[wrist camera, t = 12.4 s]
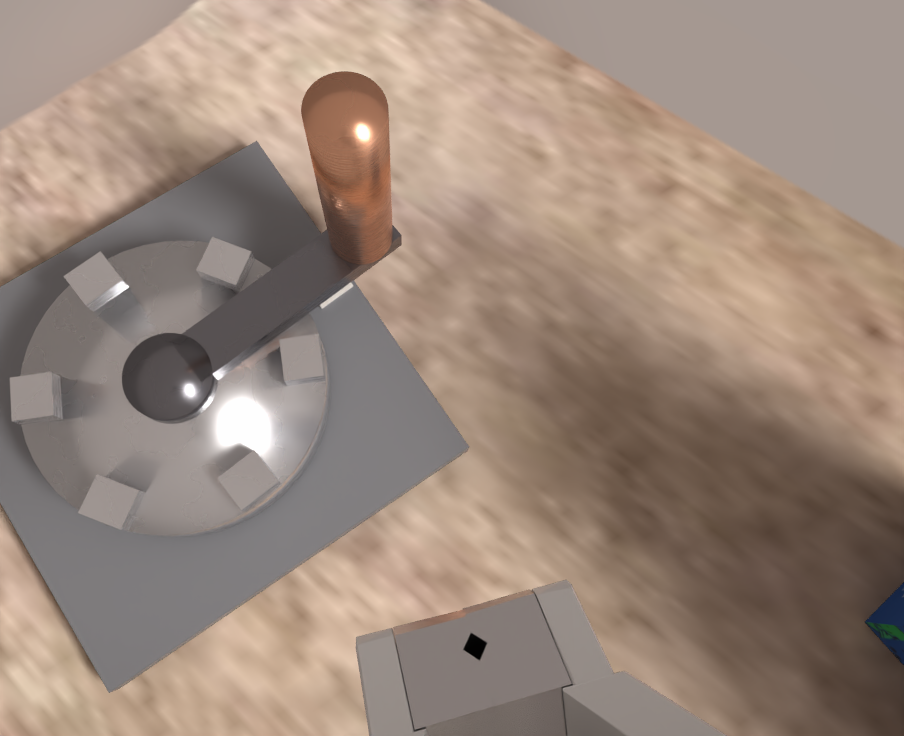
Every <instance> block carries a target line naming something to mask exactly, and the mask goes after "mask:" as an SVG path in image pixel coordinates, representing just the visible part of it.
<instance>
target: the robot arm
mask: <svg viewBox="0 0 904 736" xmlns="http://www.w3.org/2000/svg"><path fill="white" fill-rule="evenodd" d="M393 629H394V631H393ZM356 652H357V659H358V665H359V671H360V678H361V684H362V691H363V697H364V704H365V710H366V717H367V723H368V729H369V736H727V735H725V734H724V733H722V732H720V731H719V730H717V729H716V728H714V727H712V726H711V725H709V724H708V723H706V722H705V721H703V720H701V719H700V718H698V717H697V716H695V715H694V714H692V713H690V712H689V711H687V710H686V709H684V708H683V707H681V706H679V705H678V704H676V703H675V702H673V701H672V700H670V699H668V698H667V697H665V696H664V695H662V694H661V693H659V692H657V691H656V690H654V689H653V688H651V687H649V686H648V685H646V684H645V683H643V682H642V681H640V680H638V679H637V678H635V677H634V676H632V675H631V674H629V673H627V672H626V671H621V672H617V673H614V672H613V670H612V668H611V666H610V664H609V662H608V660H607V658H606V655H605V653H604V651H603V649H602V647H601V645H600V643H599V641H598V639H597V637H596V635H595V633H594V630H593V628H592V626H591V624H590V622H589V620H588V618H587V616H586V614H585V612H584V610H583V608H582V605H581V603H580V601H579V599H578V597H577V595H576V593H575V591H574V589H573V587H572V585H571V584H570V583H569V582H568V581H567V580H563V581H560V582H556V583H552V584H549V585H545V586H542V587H538V588H534V589H532V591H531V590H530V589H529V590H526V591H522V592H519V593H515V594H512V595H508V596H505V597H501V598H498V599H495V600H491V601H488V602H484V603H481V604H477V605H474V606H470V607H467V608H463V610H460V611H456V612H452V613H448V614H444V615H440V616H436V617H432V618H428V619H424V620H420V621H416V622H412V623H408V624H404V625H400V626H396V627H393V628H390V629H386V630H382V631H378V632H374V633H370V634H366V635H362V636H359V637H356Z"/></svg>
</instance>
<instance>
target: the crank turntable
mask: <svg viewBox="0 0 904 736" xmlns="http://www.w3.org/2000/svg"><path fill="white" fill-rule="evenodd" d="M301 112H302V119H303V123H304V128H305V132H306V137H307V141H308V146H309V150H310V155H311V159H312V164H313V168H314V172H315V177H316V181H317V186H318V190H319V195H320V199H321V204H322V208H323V213H324V217H325V222H326V226H327V230H326V231H325V232H323V233H322V234H320V235H319V236H318V237H316V238H315V239H313V240H312V241H311V242H309V243H308V244H306V245H305V246H304V247H302V248H301V249H299V250H298V251H297V252H295V253H294V254H292V255H291V256H290V257H288V258H287V259H285V260H284V261H283V262H281V263H280V264H278V265H277V266H276V267H274V268H273V269H271V268H269V267H268V266H266V265H264V264H263V263H261V262H260V261H258V260H256V259H255V258H254V256H253V254H252V252H251V251H249V250H246V249H243V248H241V247H238V246H235V245H233V244H230V243H228V242H225V241H222V240H220V239H217V238H214V237H212V238H211V240H210V242H209V243H206V242H200V241H167V242H158V243H153V244H148V245H143V246H139V247H136V248H133V249H130V250H127V251H124V252H121V253H119V254H117V255H115V256H112V257H110V258H108V259H107V258H106V257H105V256H104V255H103V254H102V252H101V251H100V252H98V253H97V254H96V255H94V256H93V257H91V258H90V259H88V260H87V261H85V262H84V263H82V264H81V265H79V266H78V267H76V268H75V269H73V270H72V271H70V272H69V273H68V274H66V275H65V276H64V278H65V279H66V280H67V282H68V283H69V284H70V285H69V286H68V287H67V288H66V289H65V290H64V291H63V292H62V293H61V294H60V295H59V296H58V297H57V299H56V300H55V301H54V302H53V304H52V305H51V306H50V307H49V309H48V310H47V311H46V313H45V314H44V316H43V318H42V319H41V321H40V322H39V324H38V326H37V327H36V329H35V331H34V334H33V336H32V338H31V340H30V343H29V345H28V347H27V351H26V354H25V357H24V361H23V364H22V369H21V375H20V376H18V377H11V378H10V395H11V418H12V422H15V423H18V424H20V425H21V426H22V430H23V434H24V437H25V441H26V444H27V446H28V449H29V451H30V453H31V456H32V458H33V460H34V462H35V463H36V465H37V467H38V468H39V470H40V472H41V473H42V475H43V476H44V478H45V479H46V480H47V481H48V483H49V484H50V485H51V486H52V487H53V488H54V490H55V491H56V492H57V493H58V494H59V495H60V496H62V497H63V498H64V499H65V500H66V501H67V502H68V503H69V504H71V505H72V506H73V507H75V508H76V509H78V510H79V512H78V513H79V514H82V515H84V516H87V517H89V518H92V519H94V520H97V521H99V522H101V523H103V524H106V525H108V526H112V527H115V528H118V529H120V530H124V531H129V532H135V533H141V534H147V535H154V536H161V537H191V536H201V535H206V534H210V533H214V532H219V531H222V530H225V529H228V528H230V527H233V526H236V525H239V524H241V523H243V522H245V521H247V520H249V519H250V518H252V517H254V516H256V515H258V514H259V513H261V512H262V511H264V510H265V509H267V508H268V507H270V506H271V505H272V504H274V503H275V502H276V501H277V500H278V499H279V498H281V497H282V496H283V495H284V494H285V493H286V492H287V491H288V490H289V489H290V488H291V487H292V486H293V485H294V483H295V482H296V481H297V480H298V479H299V478H300V477H301V475H302V474H303V472H304V471H305V469H306V468H307V466H308V465H309V463H310V462H311V460H312V458H313V456H314V454H315V452H316V450H317V448H318V446H319V444H320V442H321V439H322V436H323V433H324V430H325V427H326V423H327V418H328V414H329V409H330V396H331V383H330V371H329V366H328V361H327V356H326V353H325V350H324V347H323V344H322V341H321V339H320V336H319V333H318V330H317V327H316V325H315V322H314V321H313V319H312V317H311V315H310V312H311V311H313V310H314V309H315V308H317V307H318V306H319V305H321V304H322V303H323V302H325V301H326V300H327V299H329V298H330V297H332V296H333V295H334V294H336V293H337V292H338V291H340V290H341V289H342V288H344V287H345V286H346V285H348V284H349V283H351V282H352V281H353V280H355V279H356V278H357V277H359V276H360V275H361V274H363V273H364V272H365V271H367V270H368V269H370V268H371V267H372V266H374V265H375V264H376V263H378V262H379V261H380V260H382V259H383V258H384V257H386V256H387V255H389V254H390V253H391V252H393V251H394V250H395V249H397V248H398V247H399V246H401V234H400V233H399V232H398V231H397V230H396V228H395V227H394V226H393V225H392V204H391V174H390V144H389V115H388V103H387V99H386V97H385V95H384V93H383V91H382V90H381V88H380V87H379V86H378V85H377V84H376V83H375V82H374V81H372V80H371V79H370V78H368V77H366V76H364V75H361V74H358V73H354V72H335V73H331V74H328V75H326V76H323V77H322V78H320V79H318V80H317V81H316V82H314V83H313V84H312V85H311V86H310V88H309V89H308V90H307V92H306V94H305V96H304V98H303V102H302V108H301Z"/></svg>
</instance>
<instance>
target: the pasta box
mask: <svg viewBox="0 0 904 736" xmlns="http://www.w3.org/2000/svg"><path fill="white" fill-rule="evenodd" d="M865 623H866V624H867V625H868V626H869V627H870V628H871V630H872V631H873V632H874V633H875V634H876V635H877V636H878V637H879V638H880V640H881V641H882V642H883V643H884V644H885V645H886V646H887V647H888V648H889V650H890V651H891V652H892V653H893V654H894V655H895V656H896V657H897V658H898V660H899V661H900V662H901V663H902V664H903V665H904V583H903V584H902V585H901V586H900V587H899V588H898V589H897V590H896V591H895V592H894V593H893V594H892V595H891V596H890V597H889V598H888V599H887V600H886V601H885V602H884V603H883V604H882V605H881V606H880V607H879V608H878V609H877V610H876V611H875V612H874V613H873V614H872V615H871V616H870V617H869V618H868V619H867V620H866V621H865Z"/></svg>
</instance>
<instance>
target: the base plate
mask: <svg viewBox="0 0 904 736" xmlns="http://www.w3.org/2000/svg"><path fill="white" fill-rule="evenodd" d="M320 234H321V233H320V231H319V230H318V228H317V227H316V226H315V224H314V223H313V221H312V220H311V218H310V217H309V215H308V214H307V213H306V211H305V210H304V208H303V207H302V205H301V204H300V203H299V201H298V200H297V198H296V197H295V195H294V194H293V192H292V191H291V190H290V188H289V187H288V185H287V184H286V182H285V181H284V180H283V178H282V177H281V175H280V174H279V172H278V171H277V169H276V168H275V167H274V165H273V164H272V162H271V161H270V159H269V158H268V156H267V155H266V154H265V152H264V151H263V149H262V148H261V146H260V145H259V144H258V142H257V141H256V142H254V143H252V144H251V145H249V146H247V147H245V148H243V149H242V150H240V151H238V152H236V153H235V154H233V155H231V156H229V157H228V158H226V159H224V160H222V161H221V162H219V163H217V164H215V165H214V166H212V167H210V168H208V169H207V170H205V171H203V172H201V173H200V174H198V175H196V176H194V177H192V178H191V179H189V180H187V181H185V182H184V183H182V184H180V185H178V186H177V187H175V188H173V189H171V190H170V191H168V192H166V193H164V194H163V195H161V196H159V197H157V198H156V199H154V200H152V201H150V202H149V203H147V204H145V205H143V206H141V207H140V208H138V209H136V210H134V211H133V212H131V213H129V214H127V215H126V216H124V217H122V218H120V219H119V220H117V221H115V222H113V223H112V224H110V225H108V226H106V227H105V228H103V229H101V230H99V231H98V232H96V233H94V234H92V235H90V236H89V237H87V238H85V239H83V240H82V241H80V242H78V243H76V244H75V245H73V246H71V247H69V248H68V249H66V250H64V251H62V252H61V253H59V254H57V255H55V256H54V257H52V258H50V259H48V260H47V261H45V262H43V263H41V264H40V265H38V266H36V267H34V268H32V269H31V270H29V271H27V272H25V273H24V274H22V275H20V276H18V277H17V278H15V279H13V280H11V281H10V282H8V283H6V284H4V285H3V286H1V287H0V503H1V505H2V507H3V509H4V510H5V512H6V514H7V516H8V517H9V519H10V521H11V523H12V524H13V526H14V528H15V530H16V531H17V533H18V535H19V537H20V538H21V540H22V542H23V544H24V545H25V547H26V549H27V551H28V552H29V554H30V556H31V558H32V559H33V561H34V563H35V565H36V566H37V568H38V570H39V572H40V573H41V575H42V577H43V578H44V580H45V582H46V584H47V585H48V587H49V589H50V591H51V592H52V594H53V596H54V598H55V599H56V601H57V603H58V605H59V606H60V608H61V610H62V612H63V613H64V615H65V617H66V619H67V620H68V622H69V624H70V626H71V627H72V629H73V631H74V633H75V634H76V636H77V638H78V640H79V641H80V643H81V645H82V647H83V648H84V650H85V652H86V654H87V655H88V657H89V659H90V661H91V662H92V664H93V666H94V668H95V669H96V671H97V673H98V675H99V676H100V678H101V680H102V681H103V683H104V685H105V687H106V688H107V690H108V692H109V693H110V692H112V691H115V690H117V689H119V688H121V687H123V686H124V685H125V684H127V683H128V682H130V681H131V680H133V679H134V678H136V677H137V676H139V675H140V674H142V673H143V672H144V671H146V670H147V669H149V668H150V667H152V666H153V665H155V664H156V663H158V662H159V661H161V660H162V659H164V658H165V657H166V656H168V655H169V654H171V653H172V652H174V651H175V650H177V649H178V648H180V647H181V646H183V645H184V644H185V643H187V642H188V641H190V640H191V639H193V638H194V637H196V636H197V635H199V634H200V633H202V632H203V631H204V630H206V629H207V628H209V627H210V626H212V625H213V624H215V623H216V622H218V621H219V620H221V619H222V618H223V617H225V616H226V615H228V614H229V613H231V612H232V611H234V610H235V609H237V608H238V607H240V606H241V605H242V604H244V603H245V602H247V601H248V600H250V599H251V598H253V597H254V596H256V595H257V594H259V593H260V592H261V591H263V590H264V589H266V588H267V587H269V586H270V585H272V584H273V583H275V582H276V581H278V580H279V579H281V578H282V577H283V576H285V575H286V574H288V573H289V572H291V571H292V570H294V569H295V568H297V567H298V566H300V565H301V564H302V563H304V562H305V561H307V560H308V559H310V558H311V557H313V556H314V555H316V554H317V553H319V552H320V551H321V550H323V549H324V548H326V547H327V546H329V545H330V544H332V543H333V542H335V541H336V540H338V539H339V538H340V537H342V536H343V535H345V534H346V533H348V532H349V531H351V530H352V529H354V528H355V527H357V526H358V525H359V524H361V523H362V522H364V521H365V520H367V519H368V518H370V517H371V516H373V515H374V514H376V513H377V512H379V511H380V510H381V509H383V508H384V507H386V506H387V505H389V504H390V503H392V502H393V501H395V500H396V499H398V498H399V497H400V496H402V495H403V494H405V493H406V492H408V491H409V490H411V489H412V488H414V487H415V486H417V485H418V484H419V483H421V482H422V481H424V480H425V479H427V478H428V477H430V476H431V475H433V474H434V473H436V472H437V471H438V470H440V469H441V468H443V467H444V466H446V465H447V464H449V463H450V462H452V461H453V460H455V459H456V458H457V457H459V456H460V455H462V454H463V453H465V452H466V451H467V450H468V448H469V446H468V444H467V443H466V441H465V440H464V439H463V437H462V436H461V434H460V433H459V431H458V430H457V429H456V427H455V426H454V424H453V423H452V421H451V420H450V418H449V417H448V416H447V414H446V413H445V411H444V410H443V408H442V407H441V406H440V404H439V403H438V401H437V400H436V398H435V397H434V395H433V394H432V393H431V391H430V390H429V388H428V387H427V385H426V384H425V382H424V381H423V380H422V378H421V377H420V375H419V374H418V372H417V371H416V370H415V368H414V367H413V365H412V364H411V362H410V361H409V359H408V358H407V357H406V355H405V354H404V352H403V351H402V349H401V348H400V346H399V345H398V344H397V342H396V341H395V339H394V338H393V336H392V335H391V334H390V332H389V331H388V329H387V328H386V326H385V325H384V323H383V322H382V321H381V319H380V318H379V316H378V315H377V313H376V312H375V311H374V309H373V308H372V306H371V305H370V303H369V302H368V300H367V299H366V298H365V296H364V295H363V293H362V292H361V290H360V289H359V287H358V286H357V285H356V283H355V282H354V280H353V281H352V282H351V283H349V284H348V285H346V286H345V287H344V288H342V289H341V290H340V291H338V292H337V293H336V294H334V295H333V296H332V297H330V298H329V299H327V300H326V301H325V302H323V303H322V304H321V305H319V306H318V307H317V308H315V309H314V310H313V311H311V312H310V315H311V317H312V319H313V321H314V322H315V325H316V327H317V330H318V333H319V336H320V339H321V341H322V344H323V347H324V350H325V353H326V356H327V361H328V366H329V371H330V383H331V396H330V409H329V414H328V418H327V423H326V427H325V430H324V433H323V436H322V439H321V442H320V444H319V446H318V448H317V450H316V452H315V454H314V456H313V458H312V460H311V462H310V463H309V465H308V466H307V468H306V469H305V471H304V472H303V474H302V475H301V477H300V478H299V479H298V480H297V481H296V482H295V483H294V485H293V486H292V487H291V488H290V489H289V490H288V491H287V492H286V493H285V494H284V495H283V496H282V497H281V498H279V499H278V500H277V501H276V502H275V503H274V504H272V505H271V506H270V507H268V508H267V509H265V510H264V511H262V512H261V513H259V514H258V515H256V516H254V517H252V518H250V519H249V520H247V521H245V522H243V523H241V524H239V525H236V526H233V527H230V528H228V529H225V530H222V531H219V532H214V533H210V534H206V535H201V536H191V537H161V536H154V535H147V534H141V533H135V532H129V531H124V530H120V529H118V528H115V527H112V526H108V525H106V524H103V523H101V522H99V521H97V520H94V519H92V518H89V517H87V516H84V515H82V514H79V513H78V512H79V510H78V509H76V508H75V507H73V506H72V505H71V504H69V503H68V502H67V501H66V500H65V499H64V498H63V497H62V496H60V495H59V494H58V493H57V492H56V491H55V490H54V488H53V487H52V486H51V485H50V484H49V483H48V481H47V480H46V479H45V478H44V476H43V475H42V473H41V472H40V470H39V468H38V467H37V465H36V463H35V462H34V460H33V458H32V456H31V453H30V451H29V449H28V446H27V444H26V441H25V437H24V434H23V430H22V426H21V425H20V424H18V423H15V422H12V418H11V395H10V378H11V377H18V376H20V375H21V369H22V364H23V361H24V357H25V354H26V351H27V347H28V345H29V343H30V340H31V338H32V336H33V334H34V331H35V329H36V327H37V326H38V324H39V322H40V321H41V319H42V318H43V316H44V314H45V313H46V311H47V310H48V309H49V307H50V306H51V305H52V304H53V302H54V301H55V300H56V299H57V297H58V296H59V295H60V294H61V293H62V292H63V291H64V290H65V289H66V288H67V287H68V286H69V285H70V284H69V283H68V282H67V280H66V279H65V278H64V276H65V275H66V274H68V273H69V272H70V271H72V270H73V269H75V268H76V267H78V266H79V265H81V264H82V263H84V262H85V261H87V260H88V259H90V258H91V257H93V256H94V255H96V254H97V253H98V252H100V251H101V252H102V254H103V255H104V256H105V257H106V258H107V259H108V258H110V257H112V256H115V255H117V254H119V253H121V252H124V251H127V250H130V249H133V248H136V247H139V246H143V245H148V244H153V243H158V242H167V241H200V242H206V243H209V242H210V240H211V238H212V237H214V238H217V239H220V240H222V241H225V242H228V243H230V244H233V245H235V246H238V247H241V248H243V249H246V250H249V251H251V252H252V254H253V256H254V258H255V259H256V260H258V261H260V262H261V263H263V264H264V265H266V266H268V267H269V268H271V269H273V268H274V267H276V266H277V265H278V264H280V263H281V262H283V261H284V260H285V259H287V258H288V257H290V256H291V255H292V254H294V253H295V252H297V251H298V250H299V249H301V248H302V247H304V246H305V245H306V244H308V243H309V242H311V241H312V240H313V239H315V238H316V237H318V236H319V235H320Z"/></svg>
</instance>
